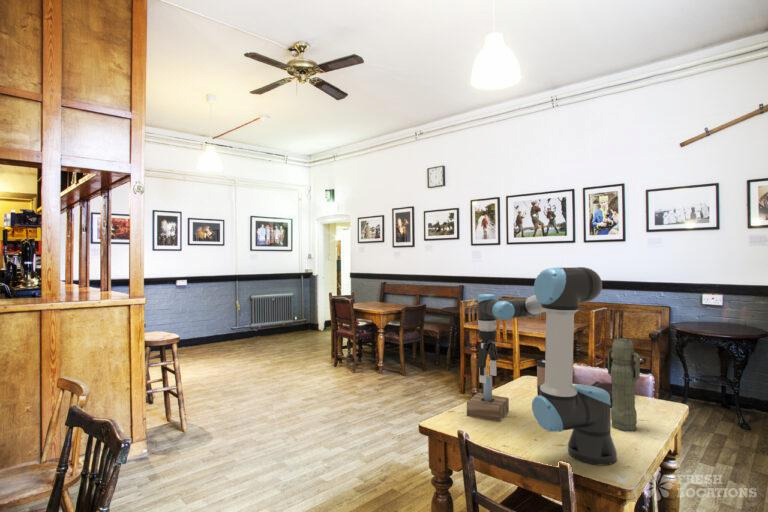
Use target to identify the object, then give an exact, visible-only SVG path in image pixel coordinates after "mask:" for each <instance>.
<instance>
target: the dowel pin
mask: <svg viewBox="0 0 768 512" xmlns="http://www.w3.org/2000/svg"><path fill="white" fill-rule="evenodd" d="M482 384H483V394H484V401H486V402H492V395H493V376H492V375H486V383H482Z"/></svg>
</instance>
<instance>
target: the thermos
mask: <svg viewBox="0 0 768 512" xmlns="http://www.w3.org/2000/svg"><path fill="white" fill-rule="evenodd" d="M611 347H612V348H610V349H608V350H607V357H606V358H607V374H608V375H609V376H610V383H612V408H611V427H612V428H613V429H615V430H617V429H618V431H621V432H626V431H633V432H636V431H637V418H638V416H637V415H638V413H637V409H636V394H635V393H636V389H635V388H636V385H637V380H639V379H640V378H641V375H640V370H641V368H640V367H641V365H640V364H641V357H640V355H639V354H638V353H637V352H635V347H634V343H633V341H632V340H631V339H630V338H626V337H625V338H623V337H617V338H615V339H614V340H613V342H612V346H611ZM634 361H635V363H634ZM635 430H636V431H635Z"/></svg>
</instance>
